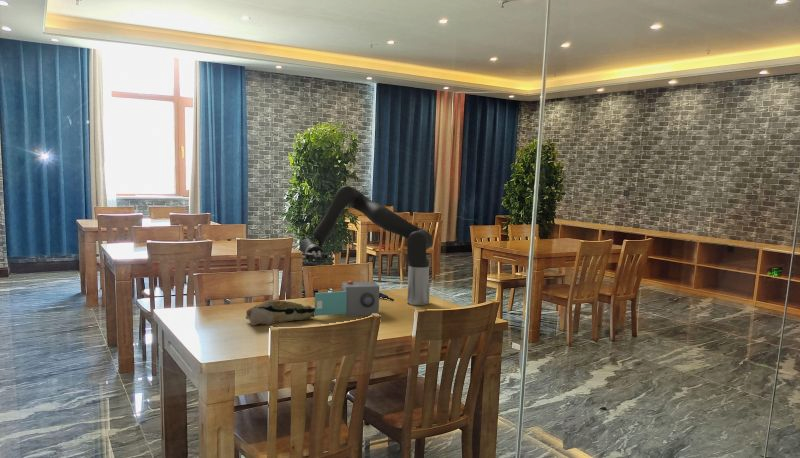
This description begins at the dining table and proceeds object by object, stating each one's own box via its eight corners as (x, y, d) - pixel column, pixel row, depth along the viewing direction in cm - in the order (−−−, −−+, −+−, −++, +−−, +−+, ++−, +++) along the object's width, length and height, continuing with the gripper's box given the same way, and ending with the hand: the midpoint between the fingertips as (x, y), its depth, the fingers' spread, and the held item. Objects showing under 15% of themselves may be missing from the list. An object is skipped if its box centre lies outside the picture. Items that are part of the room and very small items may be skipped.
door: (314, 315, 218) (314, 293, 217) (345, 312, 224) (346, 290, 223) (315, 316, 217) (316, 293, 216) (346, 313, 222) (347, 291, 221)
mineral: (312, 295, 223) (320, 304, 215) (309, 316, 225) (317, 326, 217) (246, 296, 210) (253, 306, 202) (244, 318, 212) (250, 329, 204)
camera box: (373, 308, 237) (374, 279, 236) (379, 315, 226) (380, 284, 225) (341, 309, 234) (341, 279, 232) (345, 317, 222) (346, 285, 221)
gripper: (299, 245, 247) (303, 250, 231) (328, 244, 251) (334, 250, 234) (299, 261, 248) (303, 268, 231) (328, 261, 251) (334, 267, 235)
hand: (318, 259), depth 233 cm, fingers closed
